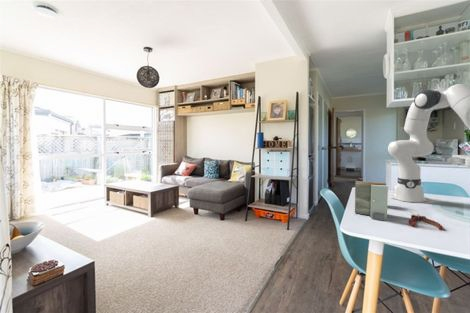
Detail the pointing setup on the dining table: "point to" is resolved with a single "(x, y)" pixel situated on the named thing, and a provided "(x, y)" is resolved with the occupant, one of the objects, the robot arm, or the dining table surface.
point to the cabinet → (364, 196)
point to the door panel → (379, 200)
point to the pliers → (424, 219)
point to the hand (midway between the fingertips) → (445, 160)
